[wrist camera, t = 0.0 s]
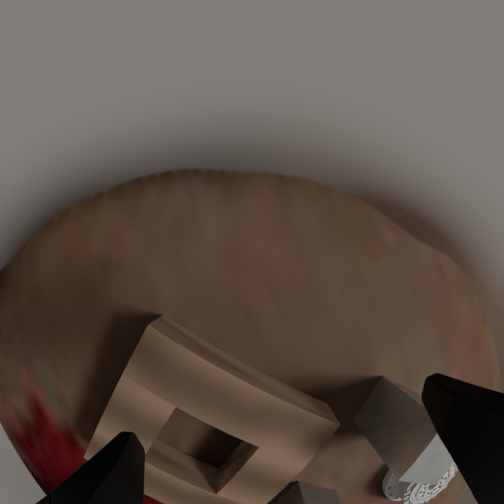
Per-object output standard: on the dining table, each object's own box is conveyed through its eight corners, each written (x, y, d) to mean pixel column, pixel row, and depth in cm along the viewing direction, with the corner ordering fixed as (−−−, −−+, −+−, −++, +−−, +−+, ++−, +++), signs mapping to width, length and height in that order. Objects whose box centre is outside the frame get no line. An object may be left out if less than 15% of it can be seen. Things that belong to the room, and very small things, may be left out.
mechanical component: (382, 456, 23) (378, 504, 22) (399, 478, 18) (390, 524, 18) (452, 422, 23) (442, 473, 23) (473, 436, 19) (457, 489, 18)
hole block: (236, 504, 21) (236, 529, 17) (99, 437, 21) (83, 457, 17) (327, 403, 22) (340, 424, 18) (163, 314, 22) (148, 324, 18)
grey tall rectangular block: (386, 431, 22) (435, 484, 12) (352, 418, 22) (398, 480, 12) (415, 391, 23) (475, 433, 13) (382, 375, 23) (444, 422, 13)
